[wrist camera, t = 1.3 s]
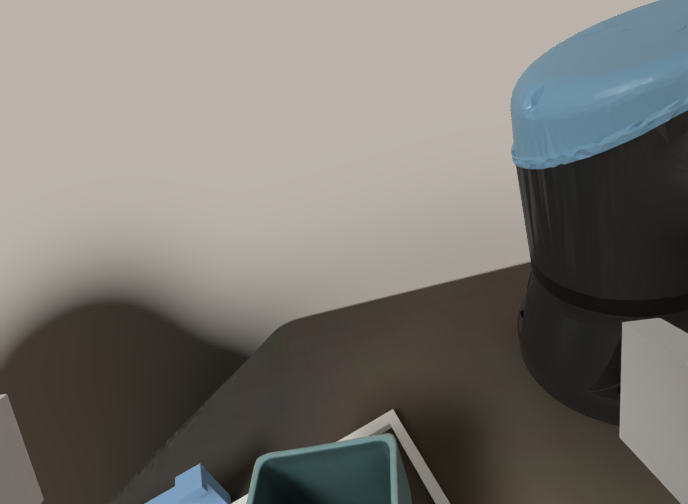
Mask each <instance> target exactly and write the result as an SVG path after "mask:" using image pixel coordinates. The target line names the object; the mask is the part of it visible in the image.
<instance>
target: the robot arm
mask: <svg viewBox="0 0 688 504" xmlns="http://www.w3.org/2000/svg"><path fill="white" fill-rule="evenodd" d="M511 117H512V128H513V140H514V143H513V146H512V158H513V161H514V163H515V165H516V168H517V174H518V180H519V187H520V193H521V200H522V206H523V212H524V219H525V225H526V232H527V238H528V244H529V250H530V258H531V265H532V271H531V274H530V278H529V282H528V287H527V295H526V296H525V298H524V300H523V302H522V305H521V308H520V312H519V316H518V335H519V341H520V346H521V352H522V355H523V359H524V361H525V364H526V366H527V368H528V369H529V371H530V373H531V374H532V376H533V377H534V378H535V380H536V381H537V382H538V383H539V384H540V385H541V386H542V387H543V388H544V389H545V390H546V391H547V392H548V393H549V394H550V395H552V396H553V397H554V398H556V399H557V400H559V401H560V402H562V403H563V404H565V405H566V406H568V407H570V408H572V409H574V410H576V411H578V412H580V413H582V414H584V415H586V416H589V417H592V418H594V419H597V420H600V421H604V422H607V423H611V424H615V425H620V433H619V437H620V438H621V440H622V441H623V442H624V443H625V444H626V445H627V446H628V447H629V448H630V449H631V450H632V451H633V452H634V454H635V455H636V456H637V457H638V458H639V459H640V460H641V461H642V462H643V463H644V464H645V465H646V466H647V468H648V469H649V470H650V471H651V472H652V473H653V474H654V475H655V476H656V477H657V478H658V479H659V480H660V482H661V483H662V484H663V485H664V486H665V487H666V488H667V489H668V490H669V491H670V492H671V493H672V495H673V496H674V497H675V498H676V499H677V500H678V501H679V502H680V503H681V504H688V0H659V1H656V2H653V3H650V4H647V5H644V6H641V7H638V8H636V9H633V10H630V11H627V12H625V13H623V14H620V15H617V16H615V17H613V18H610V19H608V20H605V21H603V22H600V23H598V24H596V25H594V26H592V27H590V28H587V29H585V30H583V31H581V32H579V33H577V34H575V35H574V36H572V37H570V38H568V39H566V40H565V41H563V42H561V43H559V44H558V45H556V46H555V47H553V48H551V49H550V50H548V51H547V52H546V53H544V54H543V55H542V56H540V57H539V58H538V59H537V60H535V61H534V62H533V63H532V64H531V65H530V66H529V67H528V68H527V70H526V71H525V72H524V73H523V74H522V76H521V77H520V78H519V80H518V82H517V83H516V85H515V88H514V90H513V94H512V98H511ZM43 500H44V499H43V496H42V494H41V491H40V488H39V485H38V482H37V479H36V476H35V473H34V471H33V468H32V465H31V462H30V459H29V457H28V453H27V450H26V448H25V445H24V442H23V439H22V436H21V433H20V430H19V427H18V424H17V422H16V419H15V416H14V413H13V410H12V407H11V405H10V401H9V399H8V396H7V394H3V395H0V504H41V503H42V501H43Z"/></svg>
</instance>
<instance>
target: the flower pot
mask: <svg viewBox="0 0 688 504" xmlns="http://www.w3.org/2000/svg"><path fill="white" fill-rule="evenodd" d="M246 504H412V499H411V491H410V487H409V483H408V479H407V476H406V472H405V469H404V465H403V462H402V458H401V455H400V451H399V448H398V445H397V441H396V439H395V437H394V435H393V434H390V433H384V434H378V435H372V436H367V437H361V438H356V439H350V440H345V441H339V442H334V443H329V444H322V445H317V446H311V447H305V448H298V449H292V450H285V451H277V452H270V453H267V454H264V455H262V456H260V457H259V458H258V459H257V460H256V463H255V466H254V470H253V474H252V479H251V484H250V489H249V493H248V498H247V502H246Z"/></svg>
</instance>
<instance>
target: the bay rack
mask: <svg viewBox="0 0 688 504" xmlns="http://www.w3.org/2000/svg"><path fill="white" fill-rule="evenodd" d="M390 428H392V429H393V431H394V432H395V434H396V436H397V438H398V439H399V441H400V443H401V445H402V446H403V448H404V450H405V452H406V453H407V455H408V457H409V459H410V460H411V462H412V464H413V466H414V467H415V469H416V471H417V473H418V474H419V476H420V478H421V479H422V481H423V483H424V485H425V486H426V488H427V490H428V492H429V493H430V495H431V497H432V499H433V500H434V502H435V504H450V503H449V501H448V499H447V498H446V496H445V494H444V493H443V491H442V489H441V488H440V486H439V485H438V483H437V481H436V480H435V478H434V476H433V475H432V473H431V471H430V470H429V468H428V466H427V465H426V463H425V461H424V460H423V458H422V456H421V455H420V453H419V451H418V450H417V448H416V447H415V445H414V443H413V442H412V440H411V438H410V437H409V435H408V433H407V432H406V430H405V428H404V427H403V425H402V423H401V422H400V420H399V418H398V417H397V415H396V413H395V412H394V410H393V409H392V410H391V411H389V412H387V413H386V414H384V415H382V416H380V417H379V418H377V419H375V420H374V421H372V422H370V423H368V424H367V425H365V426H363V427H362V428H360V429H358V430H356V431H355V432H353V433H351V434H350V435H348V436H346V437H344V438H343V439H341V440H339V441H345V440H350V439H356V438H361V437H367V436H372V435H378V434H382V433H384V432H385V431H387V430H389V429H390ZM339 441H338V442H339ZM247 498H248V494H247V495H245V496H244V497H242V498H240V499H238V500H237V501H235V502H233V503H232V504H246V502H247ZM145 504H231V497H230V495H229V494H228V492H227V491H226V490H225V489H224V488H223V487H222V486H221V485H220V484H219V483H218V482H217V481H216V480H215V479H214V478H213V477H212V476H211V475H210V473H209V472H208V471H207V470H206V469H205V468H204V467H203V466H202V465H201V464H198V465H197V466H195V467H193V468H191V469H190V470H188V471H186V472H184V473H182V474H181V475H179V476H177V477H175V487H173V488H171V489H170V490H168V491H166V492H164V493H163V494H161V495H159V496H157V497H156V498H154V499H152V500H150V501H149V502H147V503H145Z"/></svg>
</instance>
